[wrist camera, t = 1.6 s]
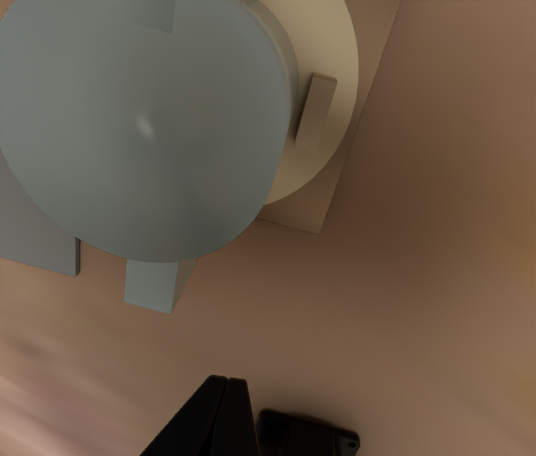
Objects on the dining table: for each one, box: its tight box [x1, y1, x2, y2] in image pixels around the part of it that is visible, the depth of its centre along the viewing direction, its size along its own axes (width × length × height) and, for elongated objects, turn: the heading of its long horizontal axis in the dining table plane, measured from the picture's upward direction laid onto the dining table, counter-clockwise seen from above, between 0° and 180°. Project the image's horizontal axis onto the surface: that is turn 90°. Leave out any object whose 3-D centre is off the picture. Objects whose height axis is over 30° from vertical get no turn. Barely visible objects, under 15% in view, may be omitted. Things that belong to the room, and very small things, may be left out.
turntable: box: [258, 0, 359, 205], centre depth 14 cm, size 10×10×2 cm
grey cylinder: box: [0, 0, 299, 314], centre depth 12 cm, size 10×6×7 cm, turn 167°
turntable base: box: [255, 0, 401, 235], centre depth 16 cm, size 11×11×1 cm
